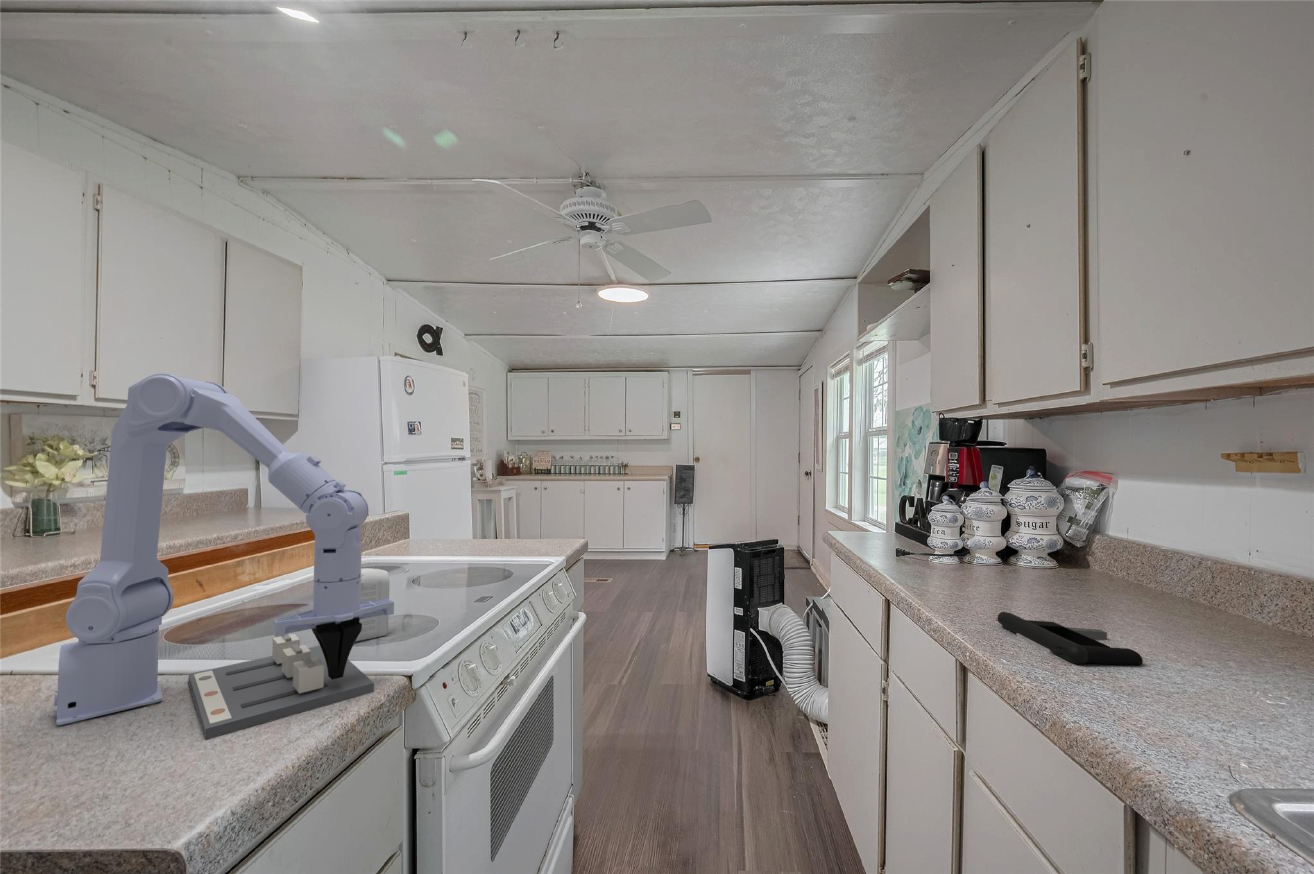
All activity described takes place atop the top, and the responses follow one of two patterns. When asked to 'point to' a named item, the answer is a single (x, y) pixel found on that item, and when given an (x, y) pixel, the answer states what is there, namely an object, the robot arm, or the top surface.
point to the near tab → (308, 674)
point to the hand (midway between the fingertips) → (335, 676)
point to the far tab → (283, 645)
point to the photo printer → (374, 590)
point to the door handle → (1069, 641)
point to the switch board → (264, 693)
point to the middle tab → (293, 657)
